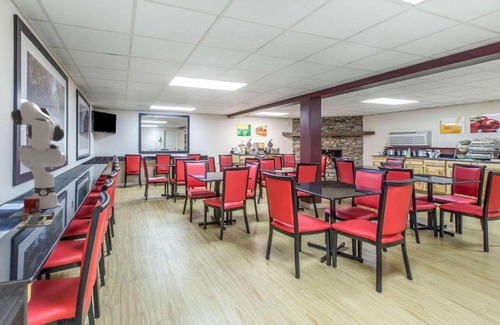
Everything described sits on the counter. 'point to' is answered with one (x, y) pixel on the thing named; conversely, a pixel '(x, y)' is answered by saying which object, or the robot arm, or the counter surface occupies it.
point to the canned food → (32, 204)
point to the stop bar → (36, 219)
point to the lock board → (44, 220)
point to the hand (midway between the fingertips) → (41, 169)
